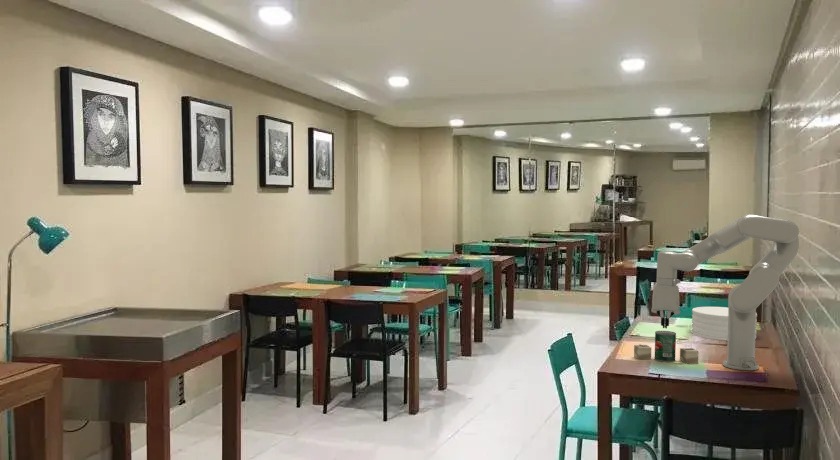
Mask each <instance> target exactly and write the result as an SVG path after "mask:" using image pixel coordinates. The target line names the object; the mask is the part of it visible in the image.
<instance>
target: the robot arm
mask: <svg viewBox="0 0 840 460" xmlns="http://www.w3.org/2000/svg"><path fill="white" fill-rule="evenodd" d="M799 229H800V228H799V226H798V225H797V224H796V223H795V222H794V221H792V220H790V219H787V218H786V219H781V218H774V217H770V216H769V217H767V216H763V215H762V216H761V215H757V214H752V213H750V214H749V213H747V214H745V215H742V216H741V217H738V218H737V219H736V220H734V221H731V223H729V224H727V225H726V226H724V227H722V228H720V229H719V230H717V231H715V232H714V233H711V234H710V235H709V236H708V237H706V238H705V239H703V240H701V241H700V242H697V243H696V244H694V245H693V246H691V247H689V248H687V249H686V250H684V251H683V252H676V251H669V250H660V251H659V252H658V253H657V257H656V258H657V259H656V260H657V261H656V283H655V284H654V285H653V290H652V299H651V310H650V311H651V313H654V314H657V315H658V316H659V317H660V326H662V329H667V328H668V327H669V326H670V319H671V317H673V316H674V315H680V314H681V313H680V290H679V289H680V288H679V285H678V284H681V279H678V271H683V272H692V271H694V270H696V269H697V268H698V266H699V265H701V264H702V263H704V262H706V261H708V260H709V259H711V258H713V257H716V256H718V255H721V254H724V253H727V252H729V251H731V250H732V249H734V248H736V247H738V246H739V245H741V244H742V243H745V242H746V241H748V240H749V239H756V240H762V241H769V242H773V244H772V246H771V247H770V248H769V249H768V251H767V252H766V253H765V255H763V257H762V258H761V259H760V260H759V261H758V262H757V263H756V264H755V265H754V266H752V268H751V269H750V270H749V273H748V275H747V277H746V278H745V279H744V280H743V281H742V282H741V283H740V284H737V285H735V286H733V287H732V288H731V289H730V290H729V292H728V296H727V301H728V302H727V303H728V305H727V306H728V341H727V344H726V345H727V346H726V347H727V348H726V350H727V351H726V352H727V353H726V359H725V360H722V365H723V367H726V368H729V369H732V370H738V371H739V370H740V371H757V370H759V369H760V365H759V363H758V362H756V357H755V354H756V352H755V351H756V339H755V329H757V327H756V324H757V322H756V319H757V317H756V313H757V308H758V307H759V306H760V305H761V304H762V302H764V301H765V299H767V297H769V296H770V294H771V293H772V292H773V291H774V290H775V289H776V287H777V286H778V284H779V281H780V276H781V274H783V273H784V271H785V270H786V269H787V268H788V266H790V264H791V263H792V262H793V261H794V259H795V258H796V256H797V254H798V251H799V249H800V247H799V246H800V239H799V238H800V237H799V234H800V230H799ZM664 311H665V312H666V315H664Z"/></svg>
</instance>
